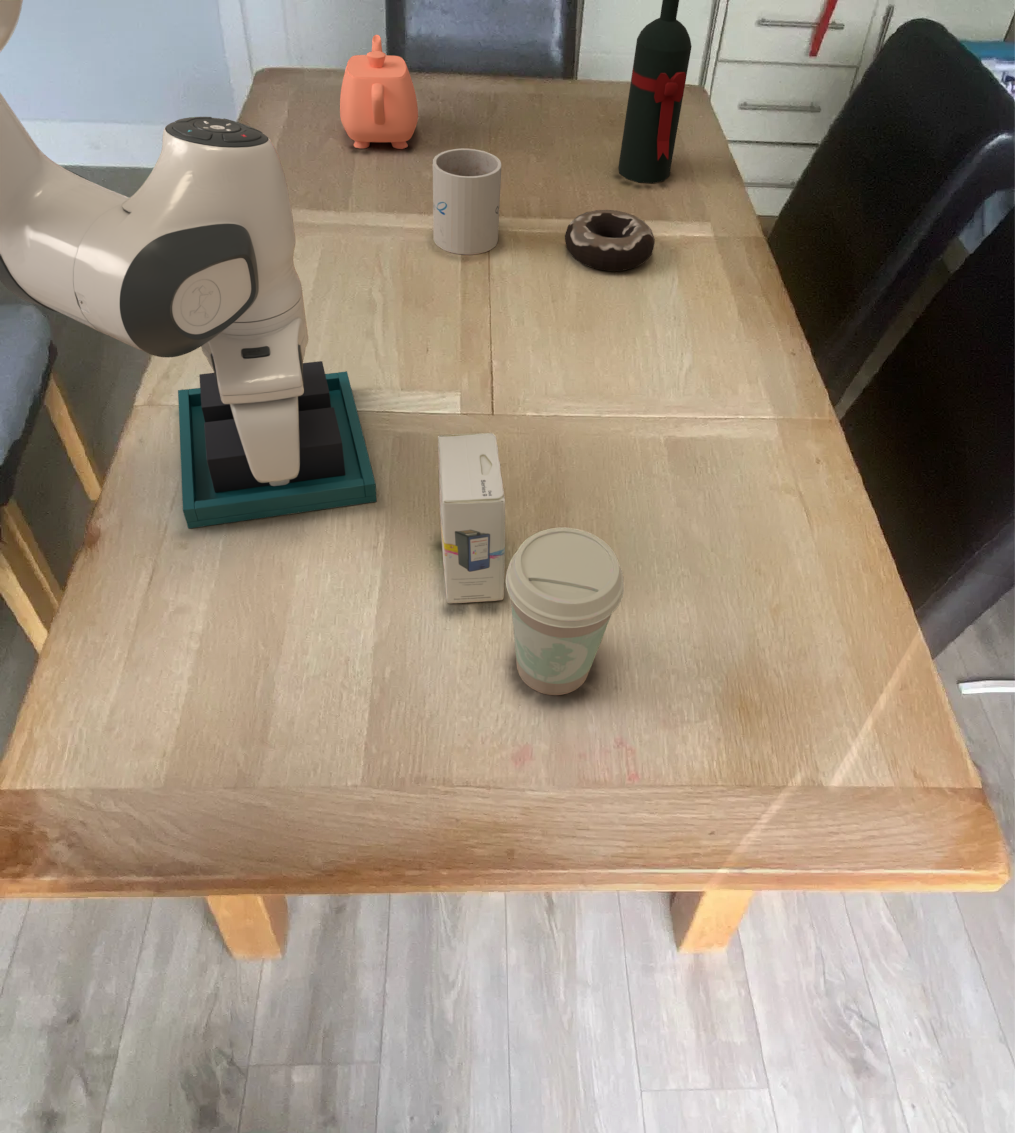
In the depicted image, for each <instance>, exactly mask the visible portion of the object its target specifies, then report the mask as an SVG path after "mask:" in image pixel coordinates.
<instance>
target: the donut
mask: <svg viewBox="0 0 1015 1133" xmlns="http://www.w3.org/2000/svg"><path fill="white" fill-rule="evenodd" d="M655 242H656V240H655V236H654V233H653V230H652V228H651V227H650V226H649V224H647V222H646V221H644V220H643V219H641V218H639V217H638V216H636V215H634V214H631V213H628V212H626V211H621V210H615V209H595V210H591V211H586V212H583V213H581V214H579V215H577V216H576V217H575V218H574V219H573V220H571V221H570V222H569V223H568V225H567V228H566V230H565V233H564V243H565V247H566V250H567V252H568V253H569V254H570V255H571V256H572V258H574V260H576V261H578V262H579V263H581V264H582V265H585V266H587V267H589V268H592V269H595V270H600V271H606V272H619V271H622V272H623V271H627V270H632V269H635V268H637V267H639V266H641V265H642V264H644V263H646V261H647V260H649V258H650V257H651V256H652V255H653V251H654V249H655V245H656V244H655Z"/></svg>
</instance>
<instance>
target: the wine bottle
mask: <svg viewBox="0 0 1015 1133" xmlns="http://www.w3.org/2000/svg"><path fill="white" fill-rule="evenodd" d="M679 4H680V0H661V7H660V13H659V17H658V18H655V19H653V20H651V22H649V23H648V24H646V25H645V26H644V27H643V28H642V29H641V31H640V32H639V34H638V36H637V38H636V44H635V50H634V57H633V63H632V71H631V78H630V85H629V92H628V98H627V105H626V111H625V112H626V113H625V120H624V126H623V132H622V140H621V147H620V153H619V160H618V167H617V168H618V174H619V175H621V176H622V177H623V178H625V179H626V180H629V181H632V182H636V183H640V184H657V183H662V182H665V181H666V180H667V179H668V178H669V177H670V173H671V169H672V162H673V156H674V151H675V146H676V140H677V134H678V128H679V122H680V116H681V111H682V105H683V99H684V92H685V86H686V81H687V75H688V70H689V64H690V58H691V53H692V41H691V37H690V34H689V32H688V30H687V28H686V27H685V25H684V24H683V23H682V22H681V21H680V20H678V19H677V16H678V11H679V6H680V5H679Z"/></svg>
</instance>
